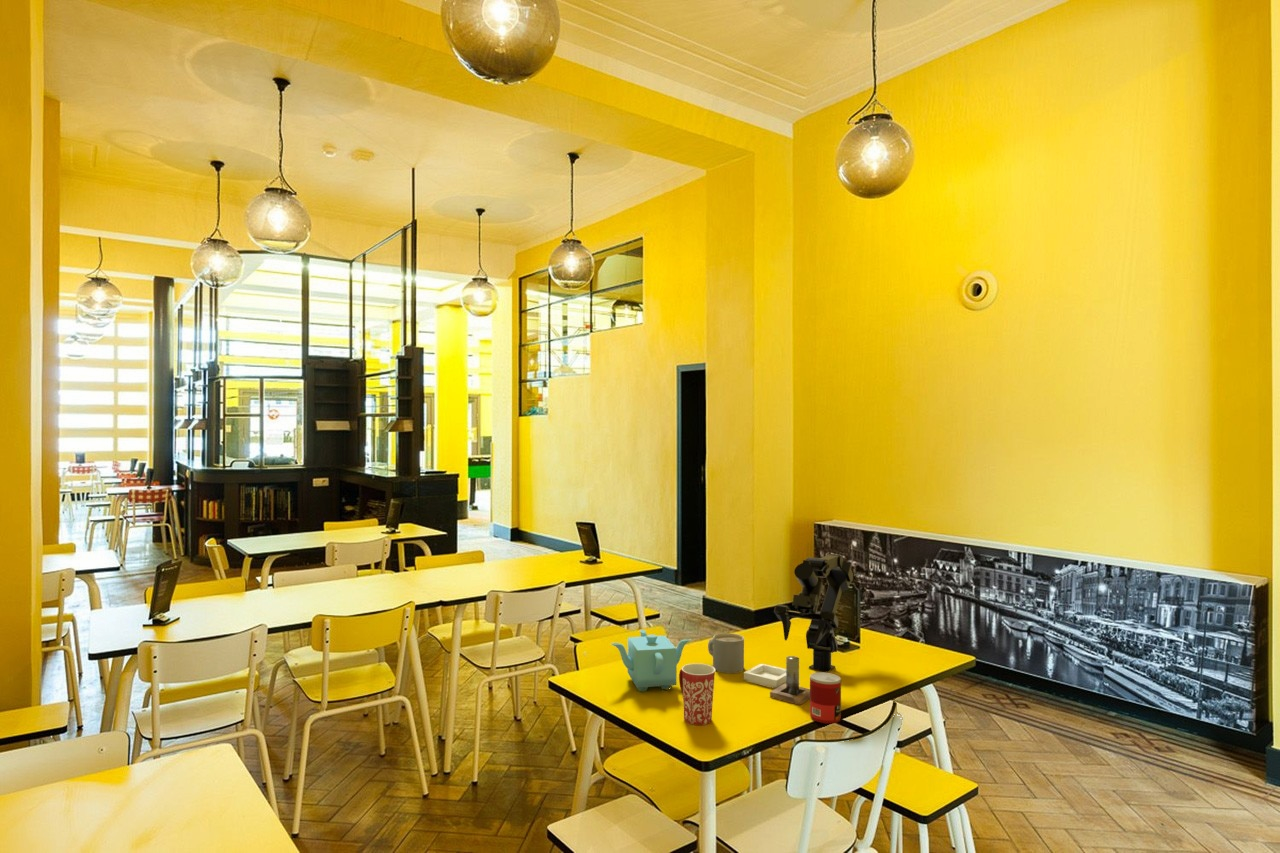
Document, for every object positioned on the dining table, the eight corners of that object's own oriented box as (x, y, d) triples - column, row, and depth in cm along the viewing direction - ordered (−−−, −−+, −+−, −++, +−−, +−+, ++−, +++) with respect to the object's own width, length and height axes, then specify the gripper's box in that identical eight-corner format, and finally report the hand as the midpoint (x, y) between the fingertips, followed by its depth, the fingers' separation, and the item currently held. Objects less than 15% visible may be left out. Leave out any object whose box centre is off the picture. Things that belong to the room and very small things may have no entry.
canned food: (842, 725, 181) (842, 682, 182) (810, 722, 183) (810, 680, 183) (839, 714, 189) (839, 673, 189) (809, 711, 191) (809, 671, 191)
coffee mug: (750, 670, 224) (750, 639, 225) (725, 675, 219) (725, 643, 220) (725, 658, 236) (725, 629, 236) (700, 663, 231) (701, 632, 231)
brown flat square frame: (785, 688, 208) (785, 683, 208) (814, 695, 202) (814, 690, 203) (770, 697, 201) (770, 691, 201) (800, 705, 195) (800, 699, 195)
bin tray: (761, 671, 223) (761, 663, 223) (793, 679, 216) (793, 670, 216) (743, 680, 215) (743, 672, 215) (776, 688, 208) (776, 680, 208)
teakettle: (662, 700, 198) (662, 648, 198) (607, 687, 208) (608, 637, 208) (693, 681, 214) (693, 633, 214) (641, 669, 224) (641, 623, 224)
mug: (722, 723, 182) (722, 671, 183) (692, 729, 178) (693, 676, 178) (696, 706, 193) (696, 657, 194) (667, 712, 189) (668, 662, 190)
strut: (789, 693, 204) (789, 655, 204) (801, 696, 202) (801, 657, 202) (783, 696, 202) (784, 658, 202) (795, 699, 199) (795, 660, 199)
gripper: (774, 579, 217) (762, 626, 209) (834, 586, 207) (824, 635, 199) (784, 595, 225) (773, 641, 216) (842, 603, 215) (833, 651, 206)
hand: (800, 642), depth 209 cm, fingers open, 9 cm apart
